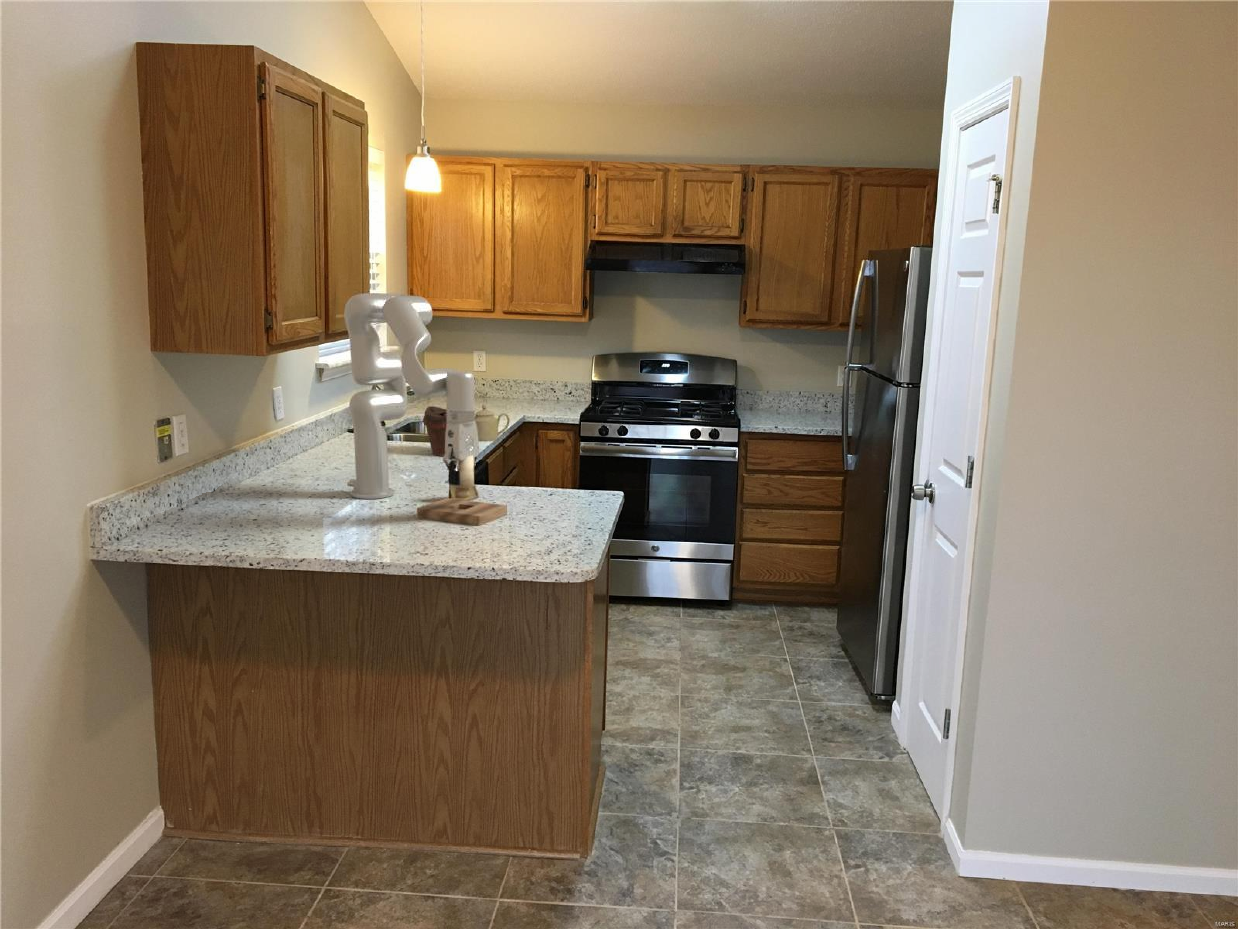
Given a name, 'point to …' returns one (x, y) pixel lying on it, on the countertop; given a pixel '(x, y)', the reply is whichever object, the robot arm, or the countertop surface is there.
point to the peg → (465, 477)
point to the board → (462, 511)
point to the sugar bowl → (488, 425)
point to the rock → (472, 494)
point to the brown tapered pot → (436, 428)
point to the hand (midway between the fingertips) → (461, 481)
